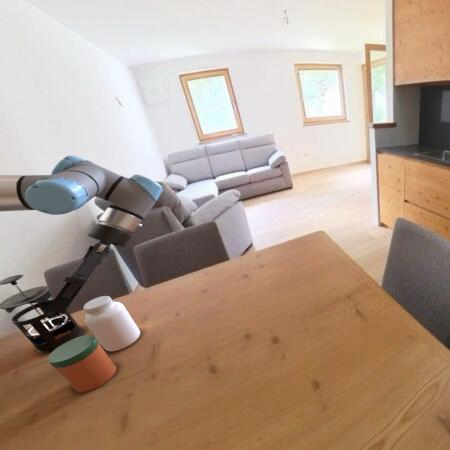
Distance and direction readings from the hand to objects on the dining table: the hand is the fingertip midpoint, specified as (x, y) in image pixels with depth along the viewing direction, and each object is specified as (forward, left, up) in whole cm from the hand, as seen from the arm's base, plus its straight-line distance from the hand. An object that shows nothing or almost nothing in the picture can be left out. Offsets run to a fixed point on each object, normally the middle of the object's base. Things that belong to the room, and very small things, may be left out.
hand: (57, 308), depth 66 cm
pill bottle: (0, +8, -20) cm, 21 cm away
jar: (+2, -4, -20) cm, 20 cm away
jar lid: (+2, -4, -9) cm, 11 cm away
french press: (-20, +12, -20) cm, 30 cm away
